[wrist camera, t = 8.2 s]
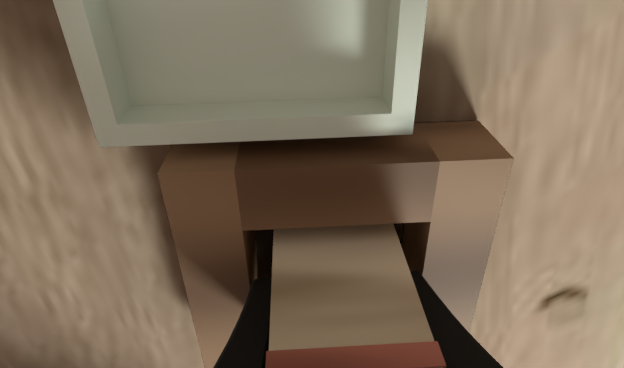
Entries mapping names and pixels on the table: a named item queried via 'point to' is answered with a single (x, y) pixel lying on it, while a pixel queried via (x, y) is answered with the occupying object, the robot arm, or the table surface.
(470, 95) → the table surface
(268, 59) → the tray
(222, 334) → the wooden square frame
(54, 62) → the table surface
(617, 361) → the table surface
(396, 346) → the pink-ended wooden beam
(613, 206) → the table surface
